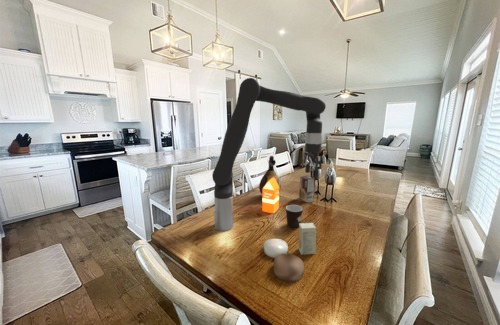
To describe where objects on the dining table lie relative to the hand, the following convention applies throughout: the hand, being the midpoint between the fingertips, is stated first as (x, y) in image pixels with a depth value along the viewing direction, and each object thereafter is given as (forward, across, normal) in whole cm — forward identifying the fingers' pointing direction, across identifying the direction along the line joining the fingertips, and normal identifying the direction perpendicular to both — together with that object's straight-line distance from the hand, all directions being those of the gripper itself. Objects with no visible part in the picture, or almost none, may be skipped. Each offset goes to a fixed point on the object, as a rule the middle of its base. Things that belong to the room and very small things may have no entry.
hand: (311, 174), depth 102 cm
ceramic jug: (+28, -44, -9) cm, 53 cm away
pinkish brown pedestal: (+28, +29, -21) cm, 46 cm away
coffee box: (+28, -35, +15) cm, 47 cm away
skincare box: (+28, +19, -10) cm, 36 cm away
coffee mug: (+28, -2, -6) cm, 29 cm away
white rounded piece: (+28, +17, -22) cm, 40 cm away
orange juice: (+28, -24, -14) cm, 39 cm away
